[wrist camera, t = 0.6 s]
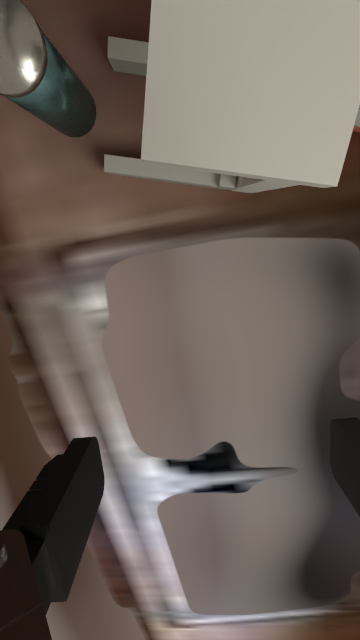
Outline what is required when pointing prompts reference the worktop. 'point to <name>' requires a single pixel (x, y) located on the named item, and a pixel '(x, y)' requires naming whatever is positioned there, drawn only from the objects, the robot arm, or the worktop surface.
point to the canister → (40, 74)
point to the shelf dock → (244, 92)
